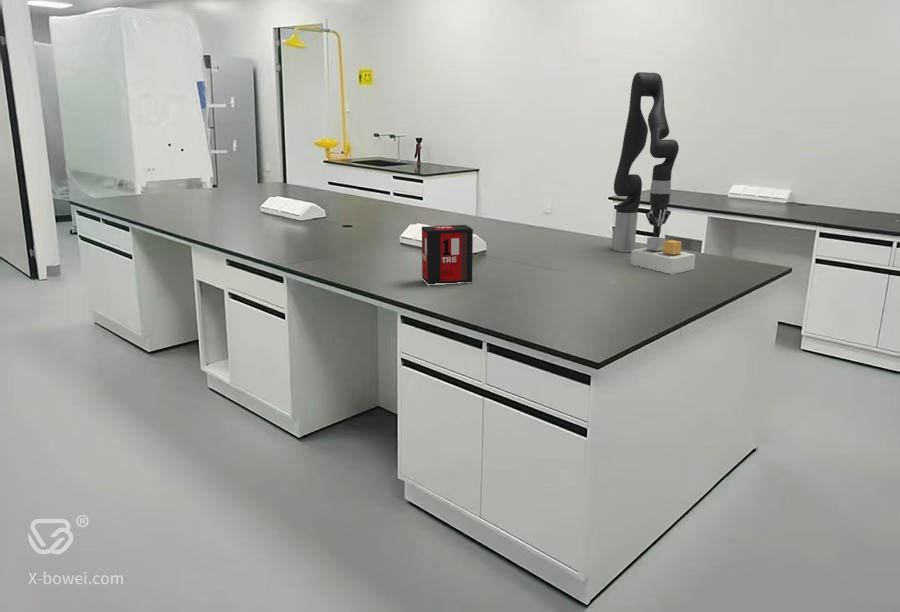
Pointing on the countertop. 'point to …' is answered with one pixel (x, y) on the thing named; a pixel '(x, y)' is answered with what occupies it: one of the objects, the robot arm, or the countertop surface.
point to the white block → (655, 243)
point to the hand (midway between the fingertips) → (656, 235)
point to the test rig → (663, 260)
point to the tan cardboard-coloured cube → (672, 247)
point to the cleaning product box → (447, 254)
